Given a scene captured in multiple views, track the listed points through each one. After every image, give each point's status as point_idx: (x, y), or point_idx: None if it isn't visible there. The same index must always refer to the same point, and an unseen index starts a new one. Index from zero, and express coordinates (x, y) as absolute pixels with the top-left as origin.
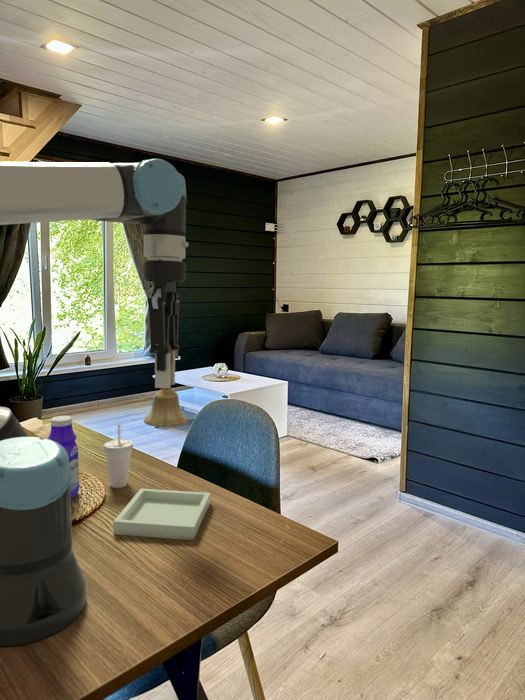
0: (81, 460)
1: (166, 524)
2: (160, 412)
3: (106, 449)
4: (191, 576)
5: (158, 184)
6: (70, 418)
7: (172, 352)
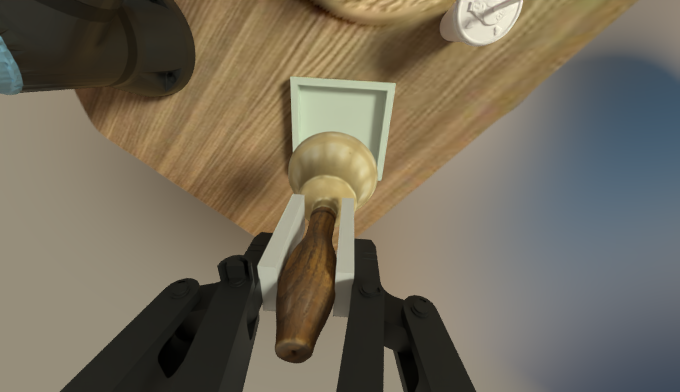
0: None
1: (293, 144)
2: (298, 181)
3: None
4: (237, 175)
5: None
6: None
7: (334, 307)
